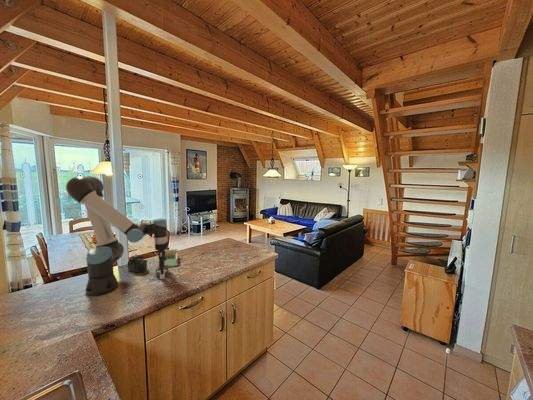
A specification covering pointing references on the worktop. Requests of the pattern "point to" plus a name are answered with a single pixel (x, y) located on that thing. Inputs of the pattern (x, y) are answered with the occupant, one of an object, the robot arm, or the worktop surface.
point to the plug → (166, 269)
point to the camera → (137, 264)
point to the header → (171, 258)
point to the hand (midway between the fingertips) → (163, 274)
